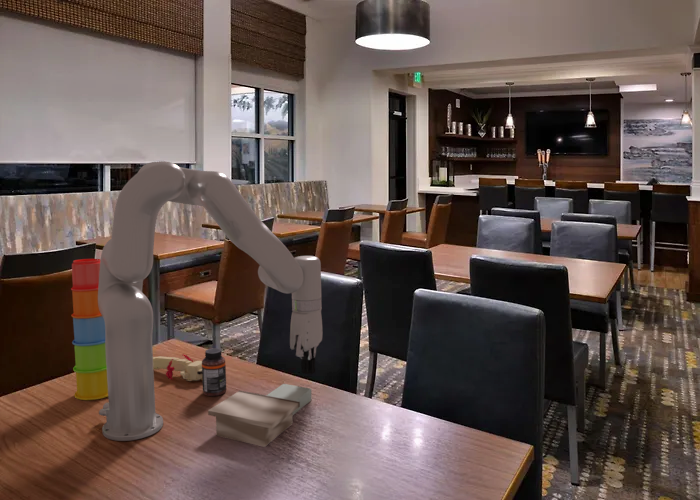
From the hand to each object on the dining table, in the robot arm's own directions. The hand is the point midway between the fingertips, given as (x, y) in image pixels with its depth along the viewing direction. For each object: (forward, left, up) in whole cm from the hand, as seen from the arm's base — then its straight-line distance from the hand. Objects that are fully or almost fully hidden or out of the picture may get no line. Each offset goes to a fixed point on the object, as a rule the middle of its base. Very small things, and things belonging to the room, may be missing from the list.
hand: (308, 372), depth 146 cm
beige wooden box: (0, -25, -5) cm, 25 cm away
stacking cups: (-48, -24, -5) cm, 54 cm away
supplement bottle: (-21, -11, -5) cm, 25 cm away
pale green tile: (0, -11, -5) cm, 12 cm away
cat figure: (-40, -6, -5) cm, 40 cm away
